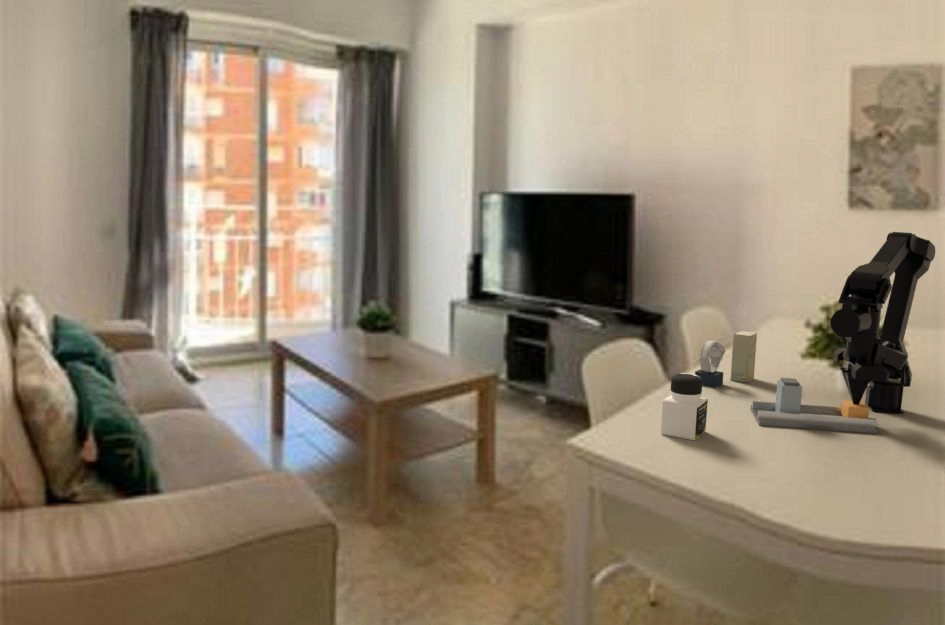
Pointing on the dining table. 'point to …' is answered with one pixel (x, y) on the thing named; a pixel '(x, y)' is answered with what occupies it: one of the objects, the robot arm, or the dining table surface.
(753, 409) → the rail plate
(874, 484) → the dining table surface
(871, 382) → the robot arm
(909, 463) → the dining table surface
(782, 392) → the block
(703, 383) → the watch
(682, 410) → the medicine bottle
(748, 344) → the skincare box
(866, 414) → the plain orange cuboid
